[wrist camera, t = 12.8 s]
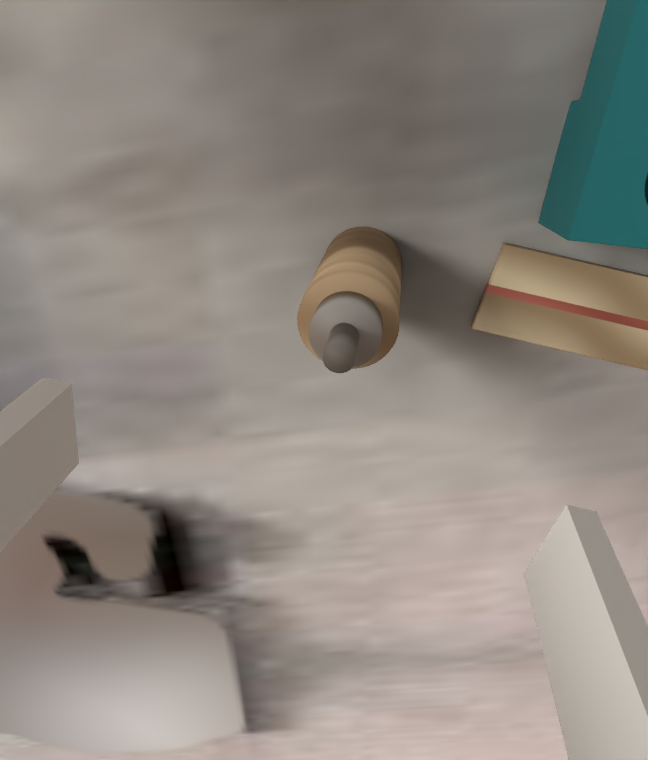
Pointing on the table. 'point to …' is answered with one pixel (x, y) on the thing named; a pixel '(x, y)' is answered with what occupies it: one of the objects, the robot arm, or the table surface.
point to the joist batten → (567, 305)
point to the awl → (353, 301)
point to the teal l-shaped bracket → (606, 140)
